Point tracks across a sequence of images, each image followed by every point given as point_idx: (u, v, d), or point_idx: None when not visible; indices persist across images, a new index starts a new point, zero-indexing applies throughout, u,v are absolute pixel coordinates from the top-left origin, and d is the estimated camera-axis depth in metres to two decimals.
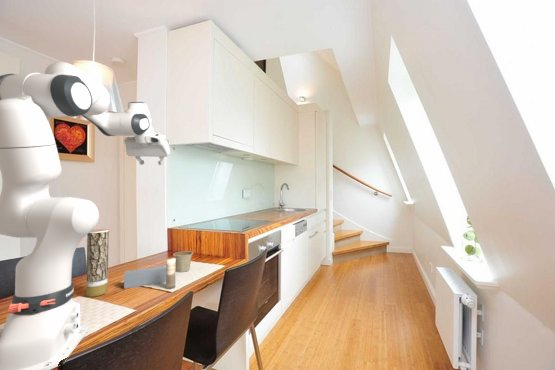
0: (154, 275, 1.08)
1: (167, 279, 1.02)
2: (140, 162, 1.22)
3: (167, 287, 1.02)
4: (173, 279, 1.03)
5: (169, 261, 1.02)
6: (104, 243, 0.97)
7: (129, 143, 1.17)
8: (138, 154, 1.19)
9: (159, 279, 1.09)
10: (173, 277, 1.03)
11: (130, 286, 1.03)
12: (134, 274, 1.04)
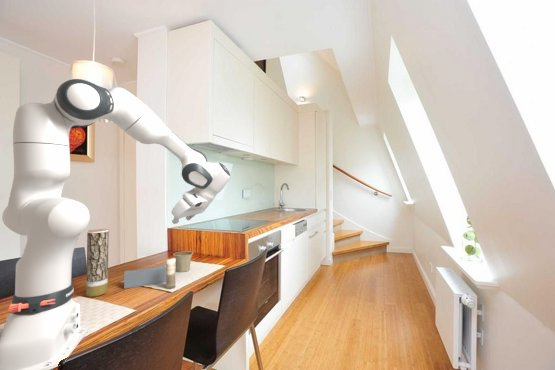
0: (154, 275, 1.08)
1: (167, 279, 1.02)
2: None
3: (167, 287, 1.02)
4: (173, 279, 1.03)
5: (169, 261, 1.02)
6: (104, 243, 0.97)
7: None
8: None
9: (159, 279, 1.09)
10: (173, 277, 1.03)
11: (130, 286, 1.03)
12: (134, 274, 1.04)
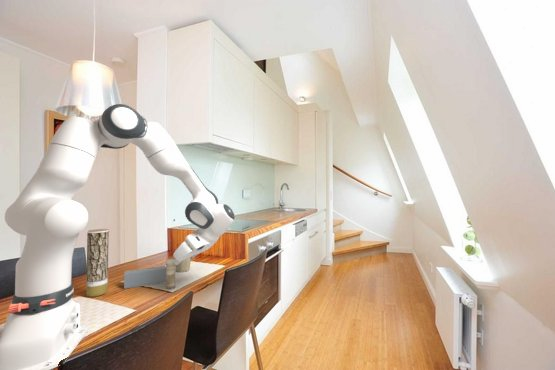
0: (154, 275, 1.08)
1: (167, 279, 1.02)
2: None
3: (167, 287, 1.02)
4: (173, 279, 1.03)
5: (169, 261, 1.02)
6: (104, 243, 0.97)
7: None
8: None
9: (159, 279, 1.09)
10: (173, 277, 1.03)
11: (130, 286, 1.03)
12: (134, 274, 1.04)
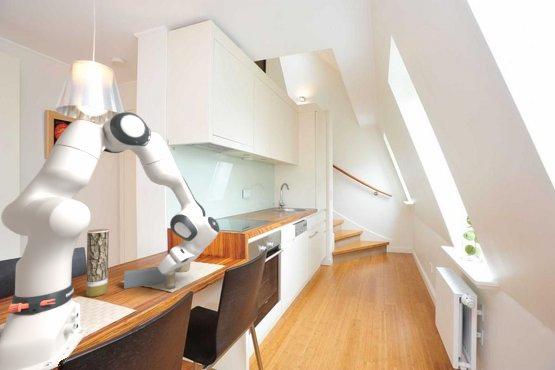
0: (154, 275, 1.08)
1: (167, 279, 1.02)
2: None
3: (167, 287, 1.02)
4: (173, 279, 1.03)
5: None
6: (104, 243, 0.97)
7: None
8: None
9: (159, 279, 1.09)
10: (173, 277, 1.03)
11: (130, 286, 1.03)
12: (134, 274, 1.04)
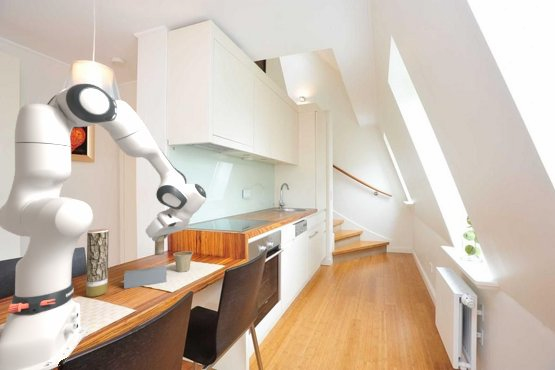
0: (154, 275, 1.08)
1: (155, 245, 1.05)
2: None
3: (156, 253, 1.04)
4: (162, 246, 1.05)
5: None
6: (104, 243, 0.97)
7: None
8: None
9: (159, 279, 1.09)
10: (162, 244, 1.05)
11: (130, 286, 1.03)
12: (134, 274, 1.04)
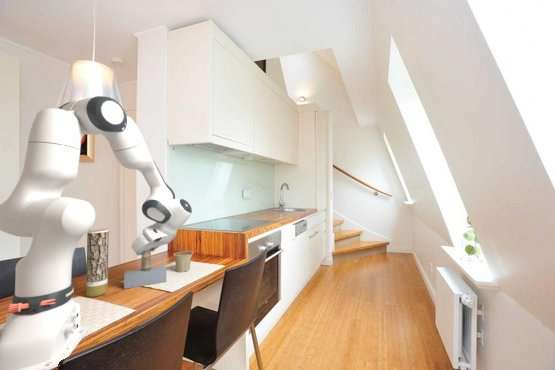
0: (154, 275, 1.08)
1: (142, 261, 1.07)
2: None
3: (142, 269, 1.07)
4: (148, 261, 1.08)
5: None
6: (104, 243, 0.97)
7: None
8: None
9: (159, 279, 1.09)
10: (148, 259, 1.08)
11: (130, 286, 1.03)
12: (134, 274, 1.04)
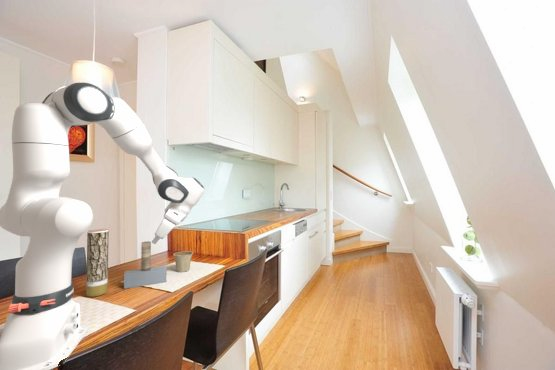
0: (154, 275, 1.08)
1: (142, 261, 1.07)
2: None
3: (142, 269, 1.07)
4: (148, 262, 1.07)
5: (144, 244, 1.07)
6: (104, 243, 0.97)
7: None
8: None
9: (159, 279, 1.09)
10: (148, 260, 1.07)
11: (130, 286, 1.03)
12: (134, 274, 1.04)
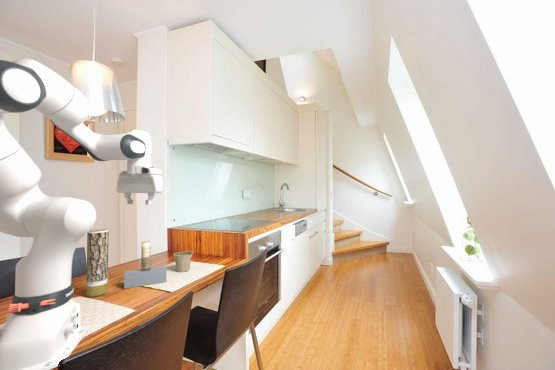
0: (154, 275, 1.08)
1: (142, 261, 1.07)
2: (127, 201, 1.01)
3: (142, 269, 1.07)
4: (148, 261, 1.07)
5: (144, 244, 1.07)
6: (104, 243, 0.97)
7: (121, 176, 1.01)
8: (127, 190, 1.00)
9: (159, 279, 1.09)
10: (148, 260, 1.07)
11: (130, 286, 1.03)
12: (134, 274, 1.04)
